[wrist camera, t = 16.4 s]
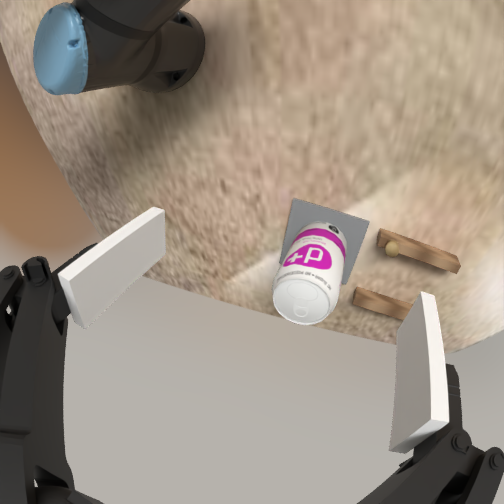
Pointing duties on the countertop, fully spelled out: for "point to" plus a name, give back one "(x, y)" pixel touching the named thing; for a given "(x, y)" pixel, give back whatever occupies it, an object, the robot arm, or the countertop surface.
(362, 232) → the mat
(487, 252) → the countertop surface
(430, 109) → the countertop surface
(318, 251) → the supplement can
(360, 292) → the cradle
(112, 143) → the countertop surface
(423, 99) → the countertop surface
